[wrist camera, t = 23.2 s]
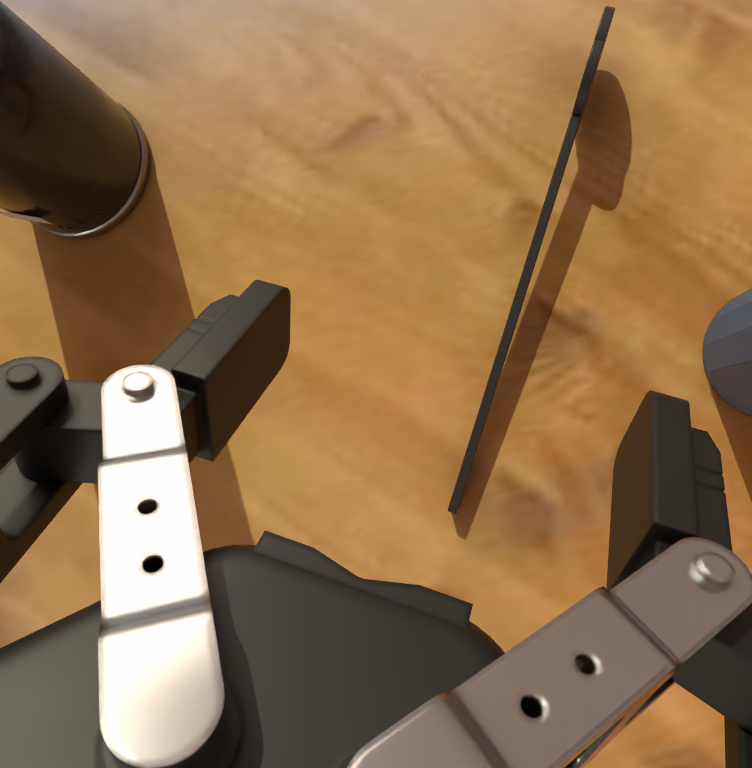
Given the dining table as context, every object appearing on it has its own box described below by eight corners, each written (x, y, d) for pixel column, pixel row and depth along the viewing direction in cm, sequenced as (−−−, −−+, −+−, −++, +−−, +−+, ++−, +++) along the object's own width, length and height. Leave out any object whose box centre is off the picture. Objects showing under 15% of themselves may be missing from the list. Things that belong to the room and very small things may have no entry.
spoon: (444, 516, 33) (611, -14, 31) (451, 502, 37) (598, 35, 36) (453, 520, 33) (621, -12, 31) (459, 505, 37) (607, 36, 36)
